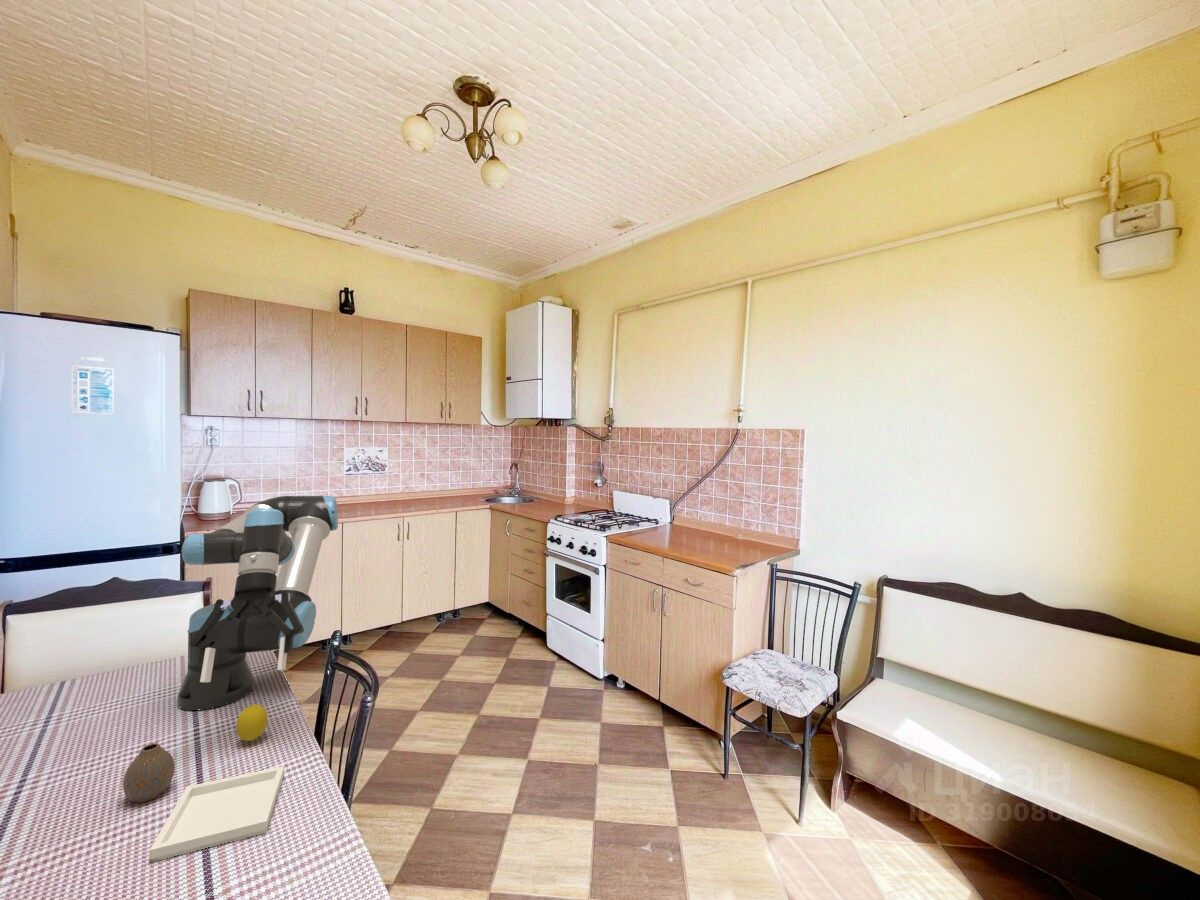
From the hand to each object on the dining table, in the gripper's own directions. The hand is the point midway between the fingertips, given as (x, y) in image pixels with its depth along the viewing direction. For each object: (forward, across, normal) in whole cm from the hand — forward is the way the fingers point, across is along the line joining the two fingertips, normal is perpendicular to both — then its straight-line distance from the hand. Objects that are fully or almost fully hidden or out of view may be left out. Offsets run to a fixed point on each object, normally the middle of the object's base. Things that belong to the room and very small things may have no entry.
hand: (244, 676), depth 100 cm
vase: (+18, -12, -2) cm, 22 cm away
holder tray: (+23, +3, -9) cm, 25 cm away
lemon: (+13, -1, +11) cm, 17 cm away
